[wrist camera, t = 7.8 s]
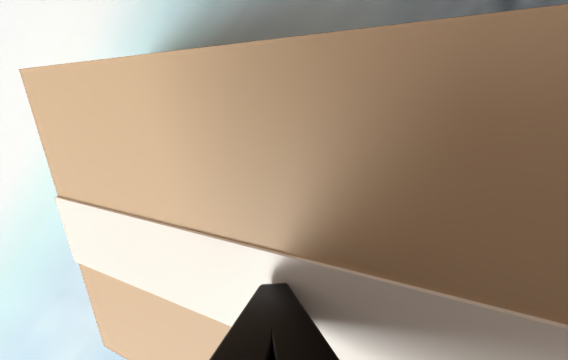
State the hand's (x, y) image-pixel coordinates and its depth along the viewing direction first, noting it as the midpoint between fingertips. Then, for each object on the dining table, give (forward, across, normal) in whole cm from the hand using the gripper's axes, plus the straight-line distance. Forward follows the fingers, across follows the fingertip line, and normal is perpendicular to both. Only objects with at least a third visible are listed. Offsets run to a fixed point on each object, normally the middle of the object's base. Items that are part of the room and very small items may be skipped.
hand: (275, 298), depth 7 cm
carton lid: (+2, +1, 0) cm, 2 cm away
